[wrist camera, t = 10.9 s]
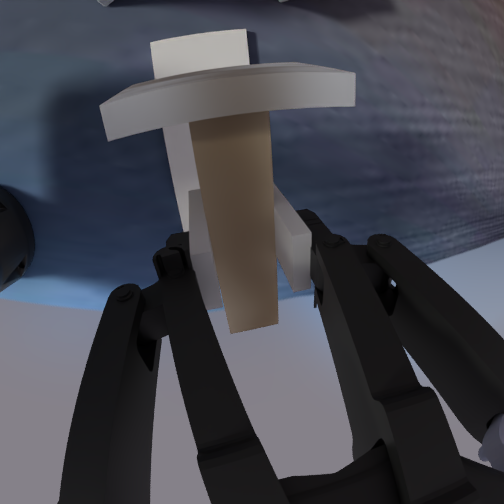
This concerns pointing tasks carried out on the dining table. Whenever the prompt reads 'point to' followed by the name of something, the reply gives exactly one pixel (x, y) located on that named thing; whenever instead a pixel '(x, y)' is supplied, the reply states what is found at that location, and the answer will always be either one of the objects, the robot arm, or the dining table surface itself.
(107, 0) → the tea box
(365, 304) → the robot arm
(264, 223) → the scraper
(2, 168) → the dining table surface
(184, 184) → the cutting board
